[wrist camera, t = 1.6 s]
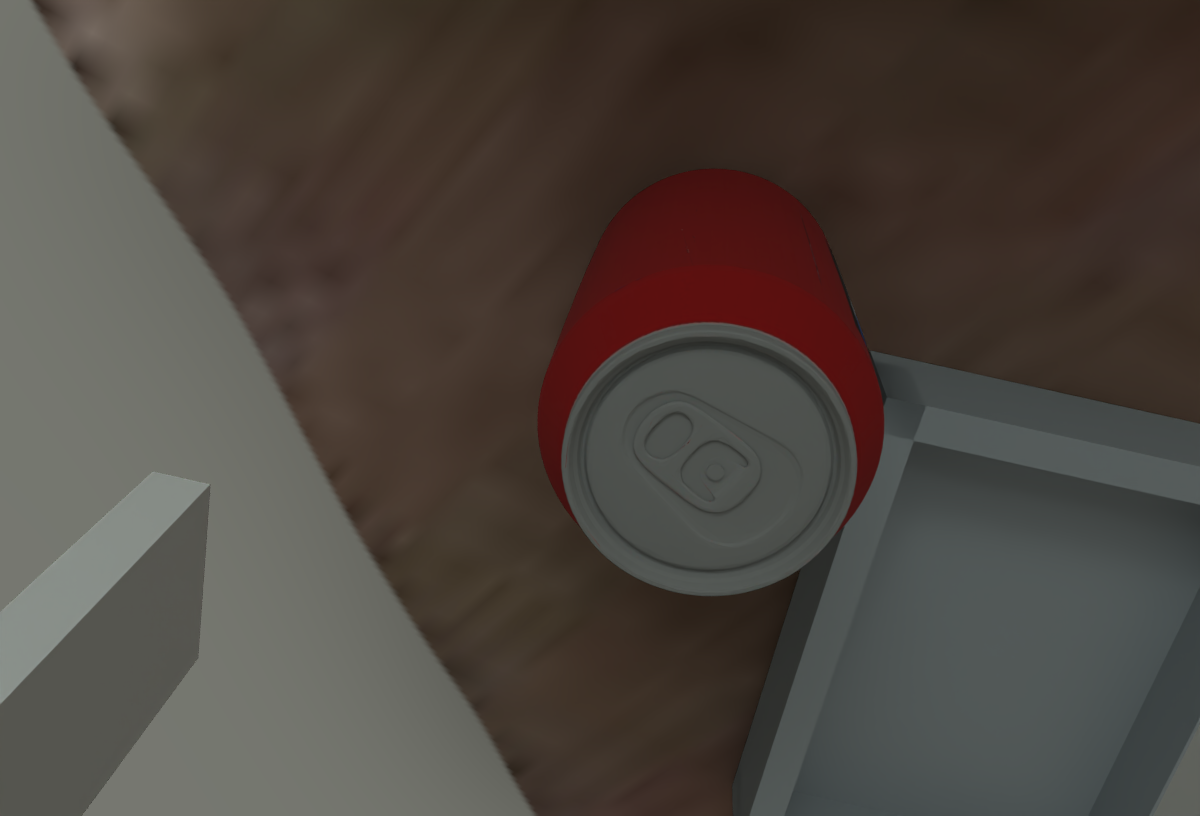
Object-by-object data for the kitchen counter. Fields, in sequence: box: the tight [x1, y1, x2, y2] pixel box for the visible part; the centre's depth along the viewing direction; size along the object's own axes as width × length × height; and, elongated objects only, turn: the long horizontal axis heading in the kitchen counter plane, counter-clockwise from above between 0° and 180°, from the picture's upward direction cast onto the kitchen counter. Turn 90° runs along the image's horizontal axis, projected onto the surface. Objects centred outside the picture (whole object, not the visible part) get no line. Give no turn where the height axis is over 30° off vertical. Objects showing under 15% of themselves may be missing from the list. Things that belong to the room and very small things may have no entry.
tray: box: [732, 351, 1200, 816], centre depth 33 cm, size 16×12×4 cm
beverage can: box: [538, 169, 884, 596], centre depth 26 cm, size 7×7×12 cm
